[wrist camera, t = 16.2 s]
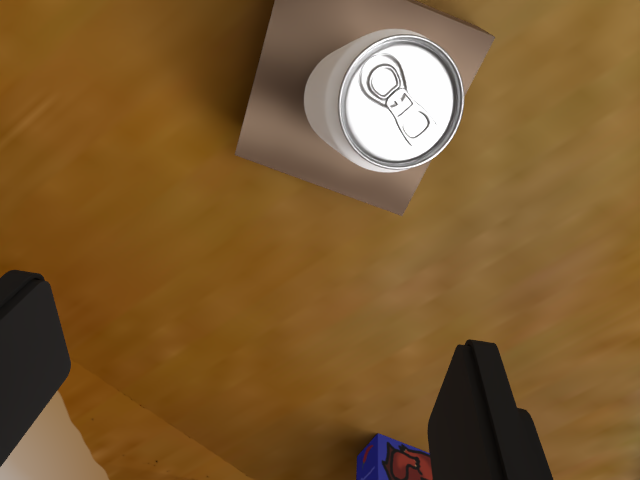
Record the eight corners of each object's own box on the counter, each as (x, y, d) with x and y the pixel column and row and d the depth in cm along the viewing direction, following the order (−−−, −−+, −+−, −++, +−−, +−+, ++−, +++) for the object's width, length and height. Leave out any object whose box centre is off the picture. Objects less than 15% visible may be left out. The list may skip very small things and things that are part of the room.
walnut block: (301, -47, 33) (287, -49, 27) (477, 26, 34) (495, 37, 29) (252, 130, 40) (234, 154, 35) (398, 184, 41) (402, 216, 36)
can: (357, 26, 29) (417, -15, 18) (414, 105, 31) (501, 113, 20) (282, 94, 30) (296, 95, 19) (343, 167, 32) (388, 208, 21)
